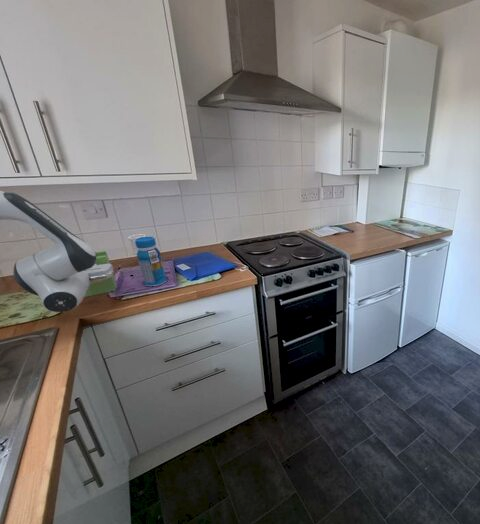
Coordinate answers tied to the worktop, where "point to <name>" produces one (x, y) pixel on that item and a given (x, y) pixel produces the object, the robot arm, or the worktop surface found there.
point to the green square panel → (101, 285)
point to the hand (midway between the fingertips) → (80, 268)
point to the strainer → (134, 242)
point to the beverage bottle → (150, 262)
